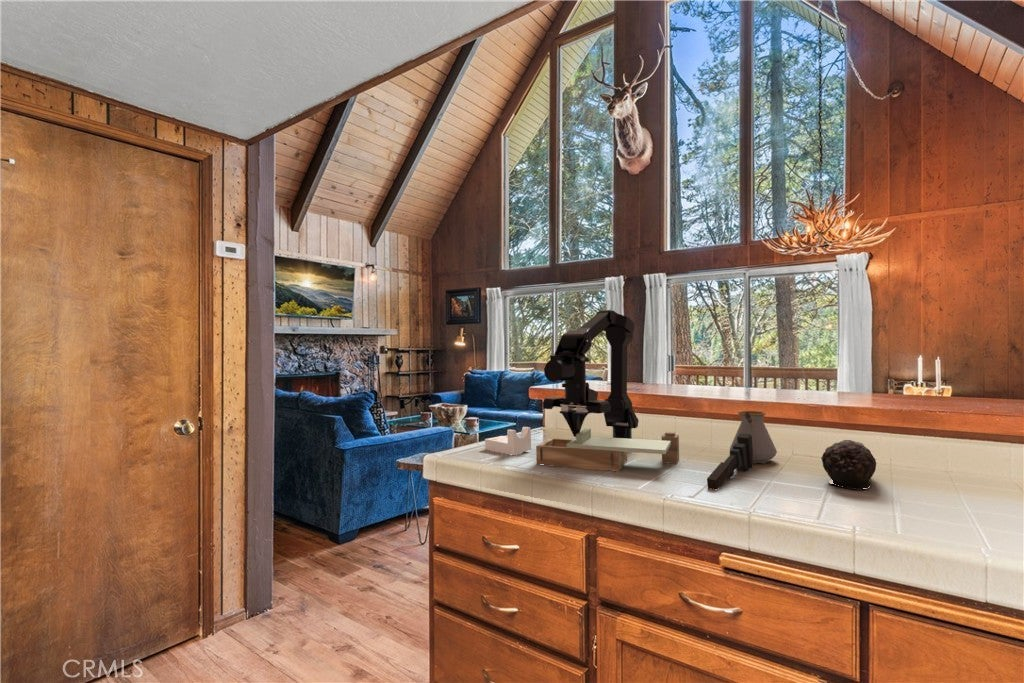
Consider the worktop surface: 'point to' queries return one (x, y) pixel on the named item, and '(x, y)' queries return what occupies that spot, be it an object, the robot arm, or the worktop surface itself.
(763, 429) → the coffee pot
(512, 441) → the bracket
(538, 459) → the brown box
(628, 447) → the lid
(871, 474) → the pine cone
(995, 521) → the worktop surface
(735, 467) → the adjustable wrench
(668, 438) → the brown stepped square block
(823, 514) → the worktop surface
